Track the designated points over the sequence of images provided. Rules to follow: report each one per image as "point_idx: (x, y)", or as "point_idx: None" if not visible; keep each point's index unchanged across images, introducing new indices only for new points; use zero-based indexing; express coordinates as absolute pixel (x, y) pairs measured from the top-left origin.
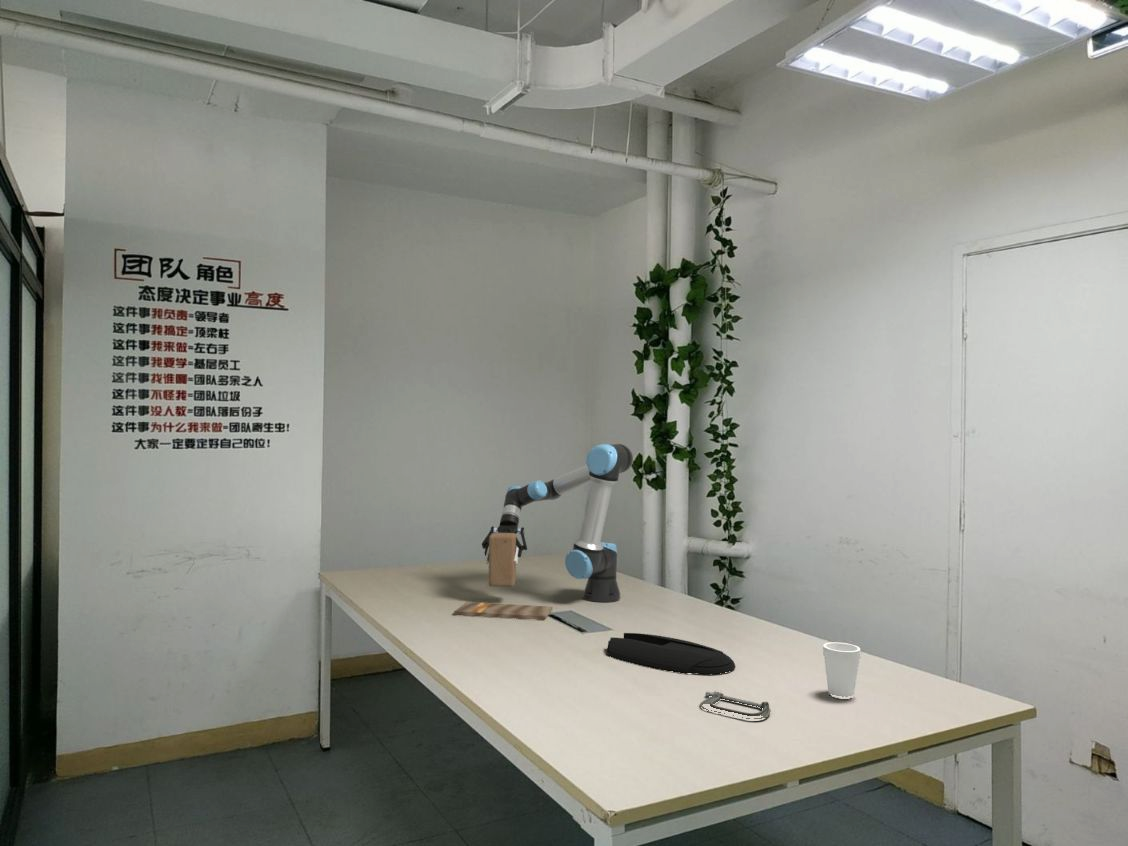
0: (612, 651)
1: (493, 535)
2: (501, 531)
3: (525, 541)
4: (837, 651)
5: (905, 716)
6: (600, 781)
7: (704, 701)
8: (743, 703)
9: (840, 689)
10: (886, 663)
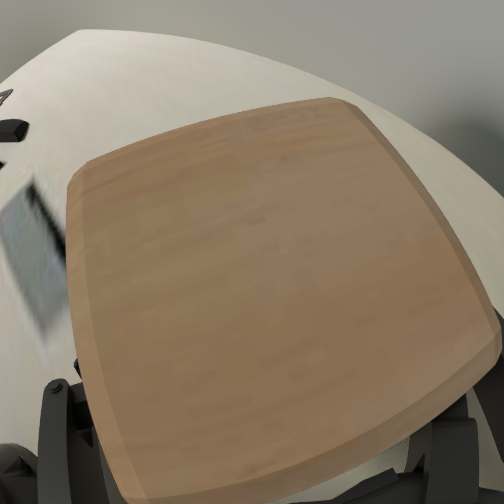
0: (22, 120)
1: (322, 103)
2: (441, 484)
3: (40, 421)
4: None
5: None
6: (79, 33)
7: (7, 95)
8: None
9: None
10: None
